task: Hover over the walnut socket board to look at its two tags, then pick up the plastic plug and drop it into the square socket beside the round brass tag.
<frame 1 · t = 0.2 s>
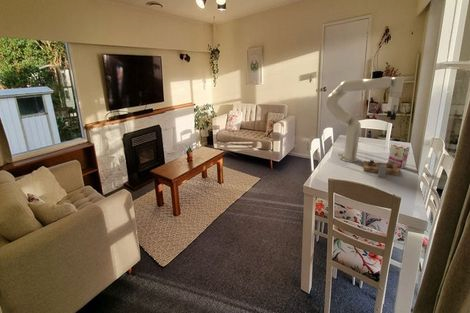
hand: (390, 118, 181), 36 cm above the table, tool pointing down, fingers open, 9 cm apart
candy bar box: (396, 166, 189), on the table
plug: (381, 176, 173), on the table
socket board: (379, 169, 183), on the table
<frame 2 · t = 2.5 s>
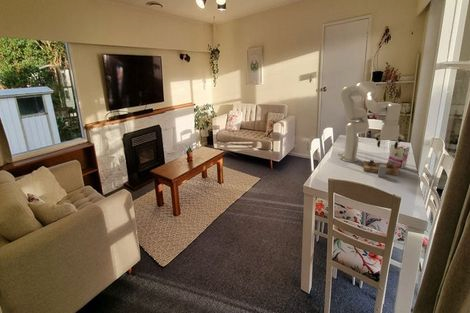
hand: (386, 147, 165), 21 cm above the table, tool pointing down, fingers open, 9 cm apart
nothing on the table moved.
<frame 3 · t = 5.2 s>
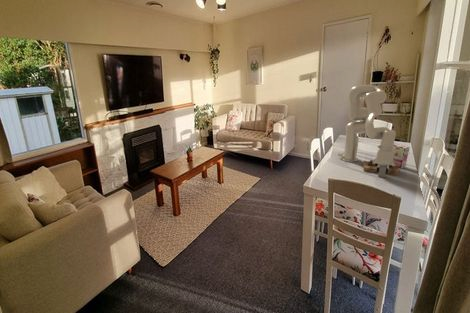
hand: (381, 172, 172), 3 cm above the table, tool pointing down, fingers closed on plug, 3 cm apart
plug: (381, 175, 173), on the table, touching gripper
everything else where it was.
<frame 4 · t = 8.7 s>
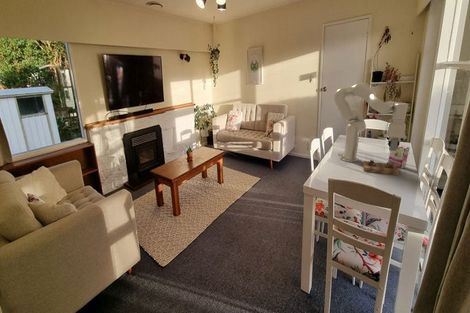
hand: (393, 146, 174), 19 cm above the table, tool pointing down, fingers closed on plug, 4 cm apart
plug: (392, 149, 175), point 16 cm above the table, touching gripper
everything else where it was.
when the fingers open (4 cm above the table, at t = 12.1 s): plug drops 2 cm, on the table.
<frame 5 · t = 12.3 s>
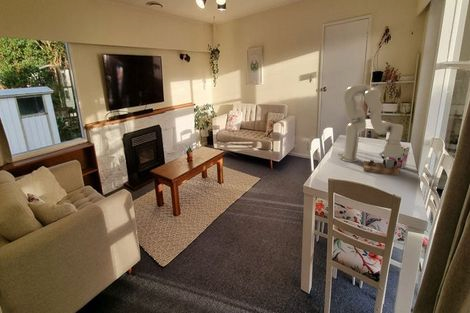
hand: (389, 164, 180), 5 cm above the table, tool pointing down, fingers open, 5 cm apart
plug: (388, 170, 181), on the table
everything else where it was.
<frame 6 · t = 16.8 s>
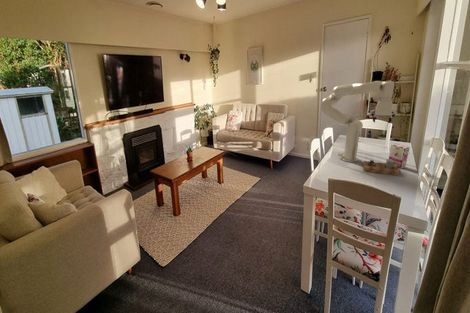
hand: (381, 122, 182), 33 cm above the table, tool pointing down, fingers open, 9 cm apart
nothing on the table moved.
at the end: plug 0.1 cm from the target spot on the socket board, point 0.0 cm above the socket board's base; plug tilted 0°; the gripper is holding nothing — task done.
